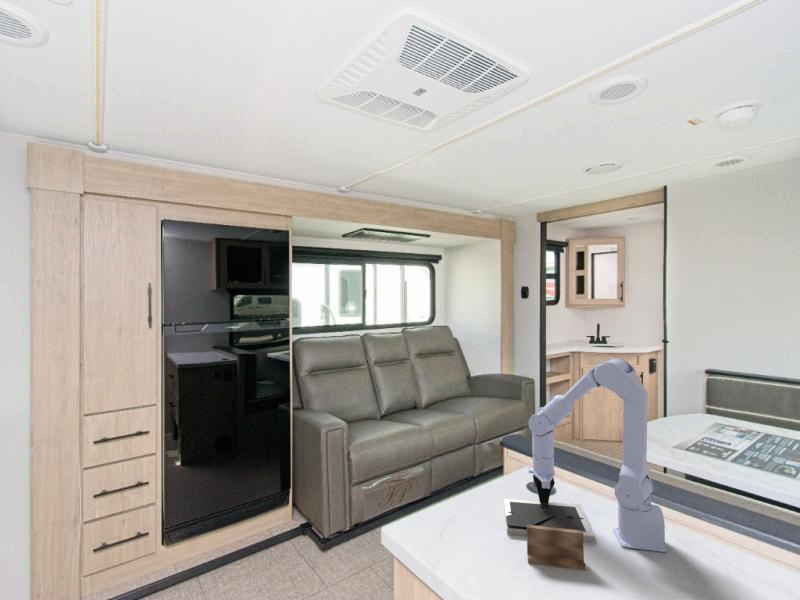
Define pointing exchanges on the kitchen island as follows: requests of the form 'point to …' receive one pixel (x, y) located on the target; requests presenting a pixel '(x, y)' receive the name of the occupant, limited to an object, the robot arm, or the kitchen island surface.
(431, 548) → the kitchen island surface
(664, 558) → the kitchen island surface
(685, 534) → the kitchen island surface
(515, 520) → the picture frame
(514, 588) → the kitchen island surface
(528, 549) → the walnut bookend
